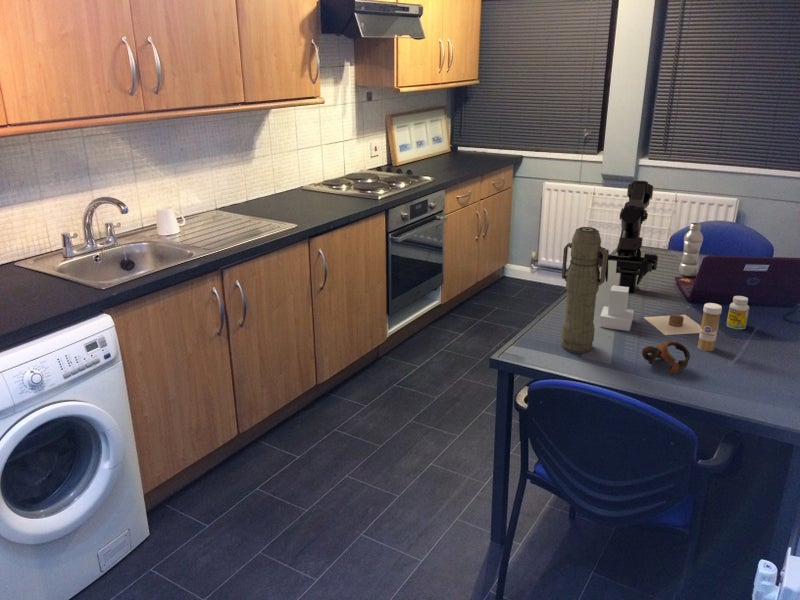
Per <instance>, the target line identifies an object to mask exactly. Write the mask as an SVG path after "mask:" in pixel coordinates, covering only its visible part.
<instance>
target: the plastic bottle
mask: <svg viewBox="0 0 800 600" xmlns="http://www.w3.org/2000/svg"><path fill="white" fill-rule="evenodd" d="M701 227H702V224H701V223H699V222H690V224H689V227H688V229H689V230H688V231H687V232H686V233H685V234H684V237H683V253H682V257H681V261H680V263H679V267H678V272H679V274H680V275H682V276H686V277H694V276H696V275H697V274H698V272H699V258H700V257H699V255H700V250H701V247H702V245H703V242H704V235H703V233H702V231H701V229H702V228H701Z"/></svg>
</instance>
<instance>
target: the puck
mask: <svg viewBox="0 0 800 600" xmlns="http://www.w3.org/2000/svg"><path fill="white" fill-rule="evenodd" d="M680 315H681V314H671V315H669V316H670V318H669V325H671V326H674V327H681V326H682V325H683V319H684V317H683V316H680Z"/></svg>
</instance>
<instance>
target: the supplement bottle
mask: <svg viewBox="0 0 800 600" xmlns="http://www.w3.org/2000/svg"><path fill="white" fill-rule="evenodd" d="M748 303H749V298H748V297H746V296H743V295H734V296H733V298H732V302H731V303H730V304H729V308H728V313H727V319H726V327H728V328H731V329H735V330H743V329H744V330H745V329H746V328H747V324H748V323H747V322H748V317H749V311H750V306H749V305H748Z"/></svg>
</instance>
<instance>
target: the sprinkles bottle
mask: <svg viewBox="0 0 800 600" xmlns="http://www.w3.org/2000/svg"><path fill="white" fill-rule="evenodd" d="M722 311H723V307H722V305H721V304H718V303H714V302H706V303H704V305H703V311H702V312H703V314H702V320H701V324H700V326H701V329H700V333H699V335H698V342H697V343H698V344H697V346H696V347H697V349H699V350H701V351H704V352H712V351H714V350H715V347H716V346H715V345H716V341H717V337H718V336H717V335H718V331H719V323H720V318H721V317H720V316H721V314H722Z"/></svg>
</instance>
